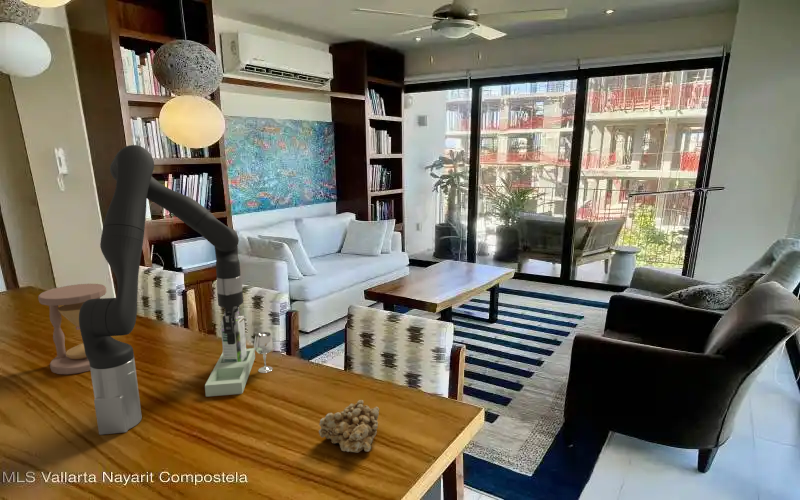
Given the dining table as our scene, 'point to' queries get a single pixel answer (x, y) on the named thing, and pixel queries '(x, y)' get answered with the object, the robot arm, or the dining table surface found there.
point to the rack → (230, 376)
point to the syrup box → (239, 348)
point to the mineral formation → (351, 427)
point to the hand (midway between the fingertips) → (233, 339)
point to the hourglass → (72, 303)
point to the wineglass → (264, 348)
